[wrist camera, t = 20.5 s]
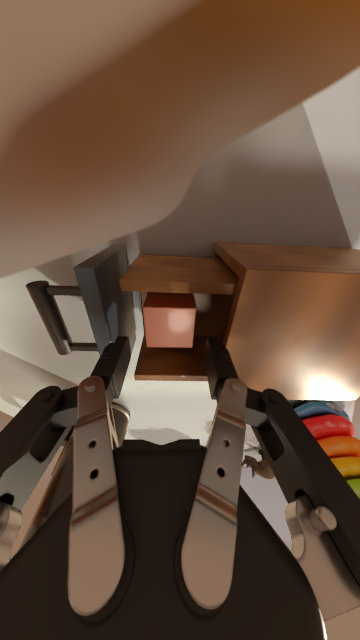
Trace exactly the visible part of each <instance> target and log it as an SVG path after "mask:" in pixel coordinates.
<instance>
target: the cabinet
mask: <svg viewBox="0 0 360 640" xmlns="http://www.w3.org/2000/svg"><path fill="white" fill-rule="evenodd" d="M212 258H221V259H222V260H223V261H224V262H225V263H226V264H227V265H228V266H229V267H230V268H231V270H232V271H233V272H234V273H235V274H236V275H237V276H238V277H239V280H238V284H237V288H236V292H235V296H234V300H233V304H232V308H231V312H230V316H229V320H228V324H227V328H226V332H225V336H224V340H223V344H222V345H224V346H225V347H226V348H227V349H228V351H229V353H230V357H231V359H232V362H233V364H234V367H235V370H236V372H237V375H238V378H239V380H241V381H242V382H243V383H244V384H245V385H246V387H248V388H250V389H253V390H256V391H260V392H263V390H265V389H268V388H270V389H274V390H277V391H279V392H280V393H281V394H283V395H284V397H285V398H286V399H287V400H356V399H357V398H358V397H359V396H360V250H357V249H349V248H329V247H310V246H290V245H270V244H251V243H231V242H215V243H214V250H213V256H212ZM211 399H212V398H211Z"/></svg>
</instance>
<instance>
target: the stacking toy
mask: <svg viewBox="0 0 360 640" xmlns="http://www.w3.org/2000/svg"><path fill="white" fill-rule="evenodd" d="M294 410H295V412H296V413H297V414H298V416H299V417H300V418H301V420H302V421H303V422H304V424H305V425H306V427H307V428H308V429H309V431H310V432H311V433H312V435H313V436H314V437H315V439H316V440H317V442H318V443H319V444H320V446H321V447H322V448H323V450H324V451H325V452H326V454H327V455H328V457H329V458H330V459H331V461H332V462H333V463H334V465H335V466H336V468H337V469H338V470H339V472H340V473H341V474H342V476H343V477H344V478H345V480H346V481H347V483H348V484H349V485H350V487H351V488H352V489H353V491H354V492H355V493H356V495H357V496H358V498H359V499H360V440H358V439H357V438H354V437H353V435H354V428H353V426H352V423H351V422H350V419H349V417H348V415H347V414H346V413H345V411H344V410H343V409H341V408H340V407H338V406H337V405H335V404H333V403H331V402H328V401H324V400H322V401H318V402H316V401H312V402H307V403H305V404H303V405H301V406H299V407H297V408H295V409H294Z"/></svg>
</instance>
